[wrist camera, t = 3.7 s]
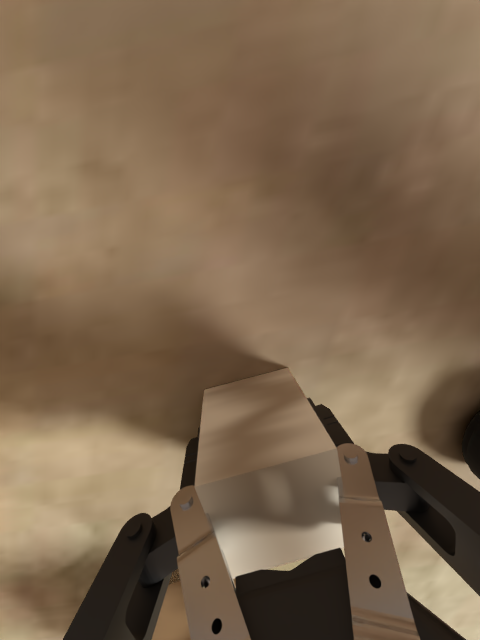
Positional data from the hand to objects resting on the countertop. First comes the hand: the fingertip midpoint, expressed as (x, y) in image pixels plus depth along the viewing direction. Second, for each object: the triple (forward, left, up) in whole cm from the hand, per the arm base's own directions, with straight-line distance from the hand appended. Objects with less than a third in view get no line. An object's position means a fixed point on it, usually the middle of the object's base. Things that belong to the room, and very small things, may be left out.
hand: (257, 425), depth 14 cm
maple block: (0, 0, -1) cm, 1 cm away
